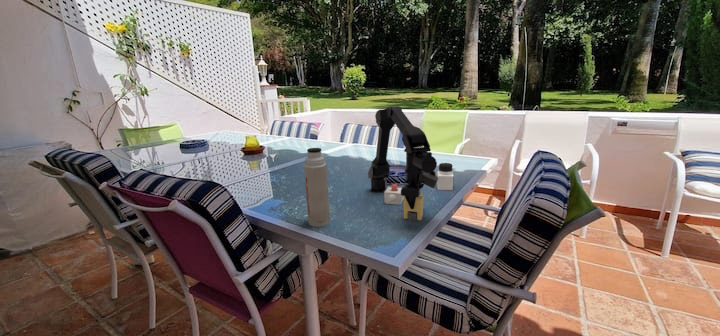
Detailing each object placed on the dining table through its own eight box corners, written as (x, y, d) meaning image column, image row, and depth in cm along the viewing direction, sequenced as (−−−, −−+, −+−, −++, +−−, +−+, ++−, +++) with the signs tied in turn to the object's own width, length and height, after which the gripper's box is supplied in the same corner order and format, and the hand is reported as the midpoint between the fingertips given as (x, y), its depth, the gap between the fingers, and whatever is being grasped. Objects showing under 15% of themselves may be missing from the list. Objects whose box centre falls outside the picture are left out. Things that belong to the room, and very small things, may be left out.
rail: (408, 220, 116) (408, 212, 116) (414, 204, 131) (414, 197, 130) (416, 220, 115) (416, 213, 115) (422, 204, 130) (422, 198, 129)
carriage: (403, 218, 117) (403, 197, 115) (406, 213, 122) (406, 193, 120) (421, 220, 115) (421, 199, 113) (422, 214, 120) (423, 194, 118)
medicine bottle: (453, 190, 145) (454, 165, 142) (437, 190, 147) (438, 165, 144) (451, 185, 152) (453, 161, 149) (436, 185, 154) (437, 161, 150)
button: (391, 190, 133) (390, 185, 132) (392, 188, 135) (392, 183, 135) (396, 190, 132) (396, 186, 132) (397, 188, 134) (397, 184, 134)
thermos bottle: (307, 227, 113) (301, 151, 106) (309, 218, 121) (303, 147, 113) (329, 226, 114) (325, 150, 106) (330, 217, 121) (325, 145, 114)
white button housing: (384, 203, 133) (384, 192, 131) (388, 197, 139) (388, 186, 138) (400, 205, 130) (400, 193, 129) (404, 198, 137) (404, 188, 136)
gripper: (434, 174, 102) (432, 218, 106) (439, 160, 119) (437, 199, 123) (400, 172, 106) (400, 215, 110) (410, 159, 123) (409, 196, 127)
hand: (413, 206), depth 117 cm, fingers open, 5 cm apart
